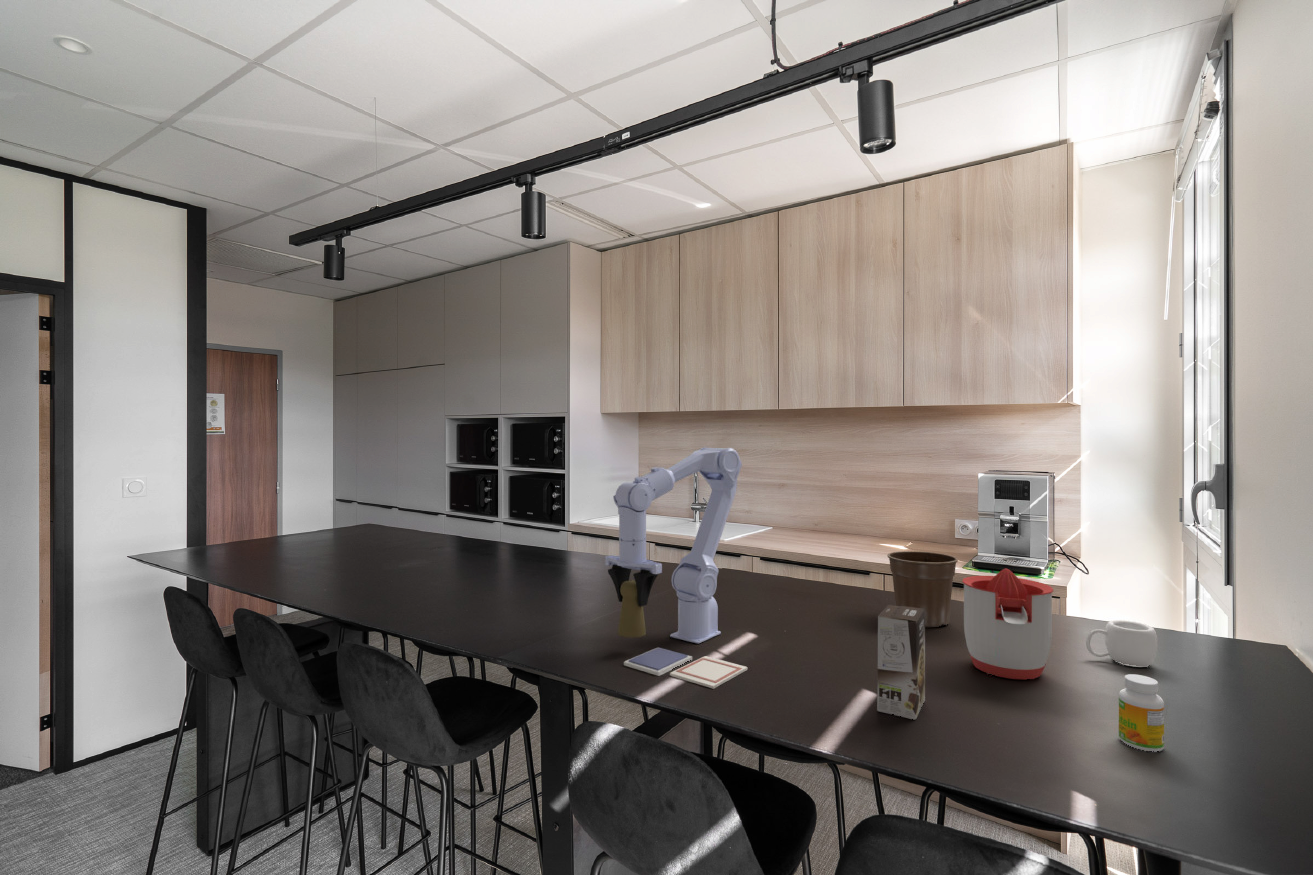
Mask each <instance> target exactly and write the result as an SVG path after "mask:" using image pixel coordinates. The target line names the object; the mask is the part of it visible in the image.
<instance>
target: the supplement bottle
mask: <svg viewBox="0 0 1313 875" xmlns="http://www.w3.org/2000/svg"><path fill="white" fill-rule="evenodd" d="M1123 679H1124V682H1123V683H1124V687H1126V688H1123V689H1121V690H1120V691H1119V692H1118V739H1119V738H1120V739H1121V740H1122V741H1123V742H1125V743H1126V744H1127V745H1126V744H1125V745H1126V746H1128V745H1129V746H1128V747H1130V746H1131V747H1130V748H1132V747H1134V748H1133V749H1135V748H1137V749H1136V750H1138V749H1141V750H1140V751H1142V750H1144V751H1143V752H1146V751H1152V752H1151V753H1158V752H1157V751H1159V752H1161V751H1163V750H1164V748H1165V702H1164V700H1163V698H1162V697H1161V696H1160V695H1158V694H1157V693H1159V682H1158V681H1157V680H1156V679H1155V678H1152V677H1149V676H1146V675H1141V674H1134V673H1133V674H1131V673H1130V674H1125V675H1124V678H1123ZM1120 739H1119V740H1120ZM1123 742H1122V743H1123ZM1153 751H1154V752H1153Z"/></svg>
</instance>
